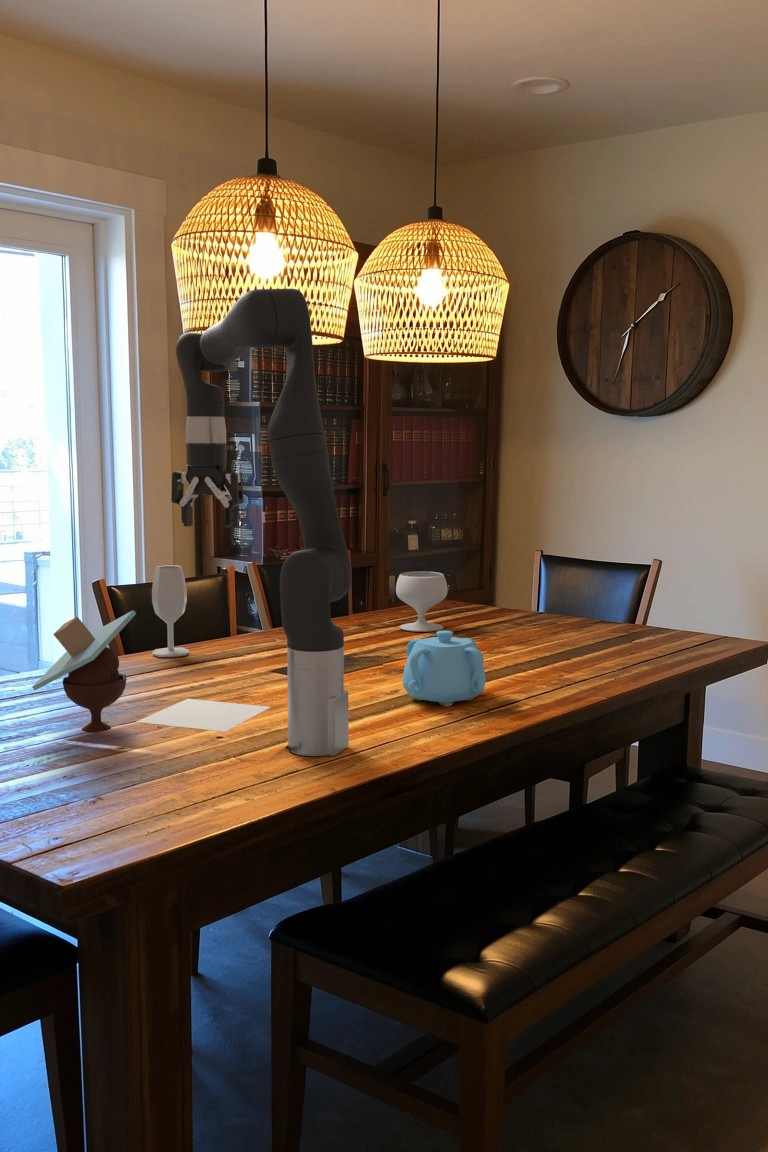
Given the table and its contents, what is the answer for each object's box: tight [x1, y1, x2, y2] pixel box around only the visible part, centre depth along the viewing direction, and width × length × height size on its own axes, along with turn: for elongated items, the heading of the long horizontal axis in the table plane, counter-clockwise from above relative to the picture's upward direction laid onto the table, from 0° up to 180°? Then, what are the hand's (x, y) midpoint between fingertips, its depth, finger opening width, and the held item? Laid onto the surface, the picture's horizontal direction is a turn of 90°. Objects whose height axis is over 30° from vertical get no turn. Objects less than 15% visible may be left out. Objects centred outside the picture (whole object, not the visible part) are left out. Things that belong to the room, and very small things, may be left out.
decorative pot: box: [402, 630, 486, 706], centre depth 205 cm, size 16×16×14 cm
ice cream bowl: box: [62, 646, 128, 734], centre depth 181 cm, size 11×11×15 cm
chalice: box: [395, 570, 449, 633], centre depth 282 cm, size 14×14×15 cm
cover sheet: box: [31, 609, 137, 691], centre depth 179 cm, size 15×15×6 cm
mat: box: [135, 698, 272, 733], centre depth 192 cm, size 18×18×1 cm
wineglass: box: [151, 564, 190, 658], centre depth 246 cm, size 9×9×21 cm
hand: (207, 526), depth 199 cm, fingers open, 8 cm apart
